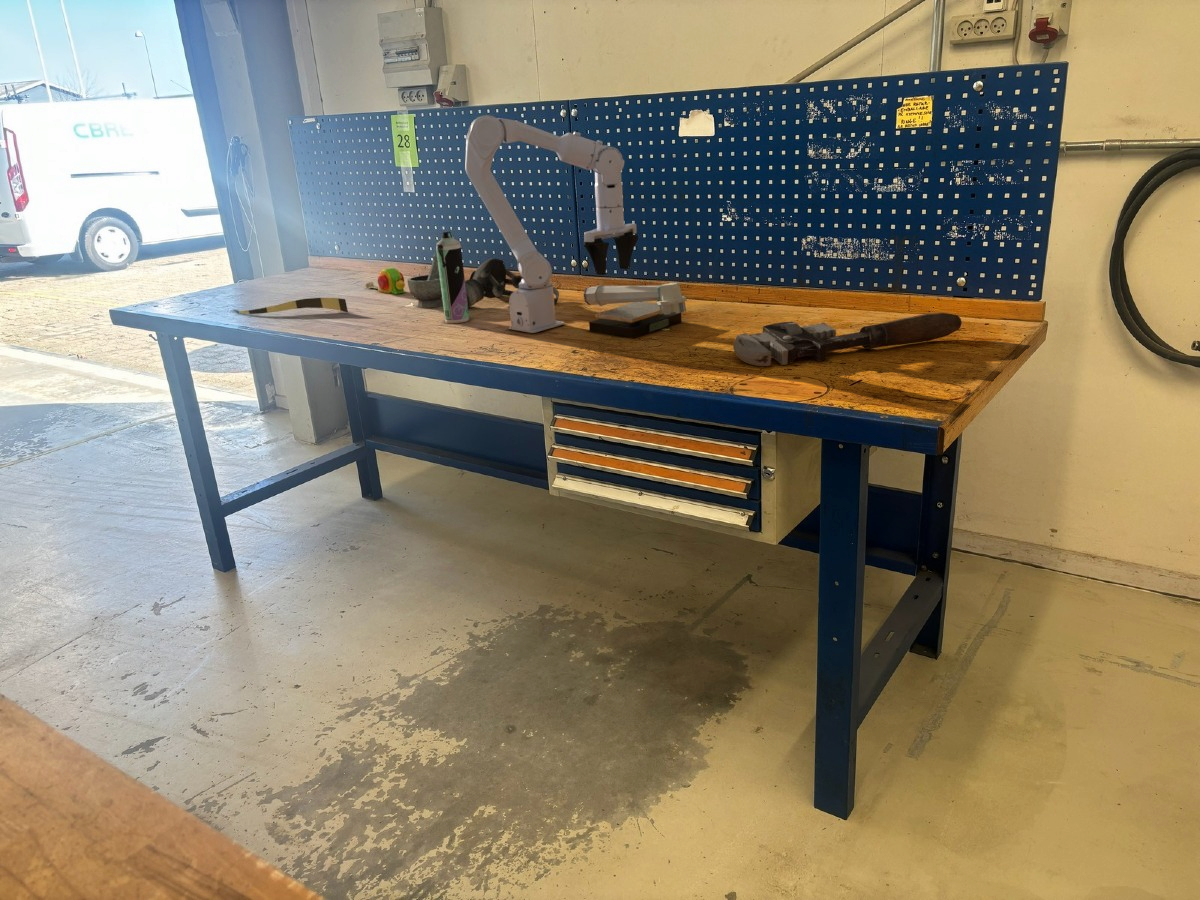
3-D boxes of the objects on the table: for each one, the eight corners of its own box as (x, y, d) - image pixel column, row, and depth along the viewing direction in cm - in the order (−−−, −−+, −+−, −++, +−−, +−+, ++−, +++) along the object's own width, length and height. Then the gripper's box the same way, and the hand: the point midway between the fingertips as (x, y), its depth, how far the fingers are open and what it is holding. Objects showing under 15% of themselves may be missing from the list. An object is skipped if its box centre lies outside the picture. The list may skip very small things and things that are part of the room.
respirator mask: (481, 282, 224) (509, 237, 216) (543, 335, 223) (573, 291, 215) (442, 297, 206) (471, 249, 199) (508, 355, 205) (540, 308, 198)
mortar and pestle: (431, 310, 208) (424, 260, 204) (403, 308, 213) (396, 259, 209) (461, 301, 217) (455, 253, 213) (433, 299, 222) (427, 252, 218)
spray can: (464, 323, 193) (453, 232, 185) (441, 323, 194) (430, 233, 186) (472, 317, 198) (462, 229, 190) (450, 318, 199) (439, 230, 191)
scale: (635, 338, 170) (634, 328, 169) (589, 331, 178) (588, 322, 177) (683, 322, 181) (682, 312, 180) (638, 316, 189) (637, 307, 188)
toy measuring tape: (393, 296, 229) (389, 271, 227) (359, 289, 243) (355, 266, 240) (414, 292, 233) (410, 268, 230) (379, 285, 246) (375, 262, 244)
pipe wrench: (752, 379, 145) (753, 351, 142) (721, 352, 156) (721, 326, 153) (967, 340, 154) (972, 314, 152) (924, 318, 165) (927, 293, 163)
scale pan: (632, 326, 171) (632, 318, 170) (595, 321, 177) (595, 313, 177) (674, 312, 180) (674, 305, 180) (638, 308, 187) (638, 301, 186)
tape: (335, 319, 208) (332, 303, 206) (215, 315, 221) (211, 300, 219) (350, 312, 213) (347, 297, 211) (231, 309, 226) (228, 295, 224)
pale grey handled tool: (595, 283, 186) (688, 275, 170) (600, 314, 188) (693, 308, 172) (579, 288, 183) (673, 280, 166) (585, 319, 185) (678, 314, 168)
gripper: (600, 211, 171) (604, 278, 176) (646, 203, 181) (648, 267, 186) (575, 210, 176) (579, 276, 181) (621, 202, 186) (624, 265, 191)
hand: (612, 271), depth 184 cm, fingers open, 7 cm apart
